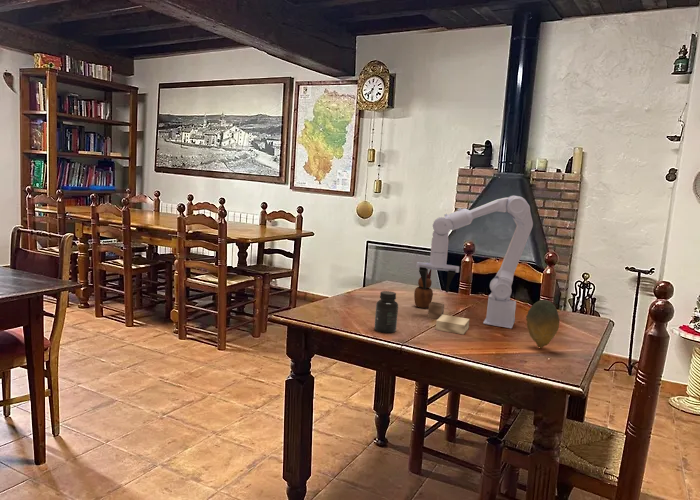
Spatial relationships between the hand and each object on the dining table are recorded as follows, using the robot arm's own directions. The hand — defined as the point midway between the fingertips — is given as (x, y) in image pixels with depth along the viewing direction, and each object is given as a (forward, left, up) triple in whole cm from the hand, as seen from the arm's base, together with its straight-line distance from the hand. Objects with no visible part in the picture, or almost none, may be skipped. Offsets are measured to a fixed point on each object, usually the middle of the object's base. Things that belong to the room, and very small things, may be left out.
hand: (435, 290), depth 184 cm
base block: (-9, +11, -9) cm, 17 cm away
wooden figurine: (+7, -11, -10) cm, 16 cm away
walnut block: (-1, +1, -10) cm, 10 cm away
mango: (-36, +16, -10) cm, 41 cm away
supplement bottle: (+9, +26, -10) cm, 29 cm away
